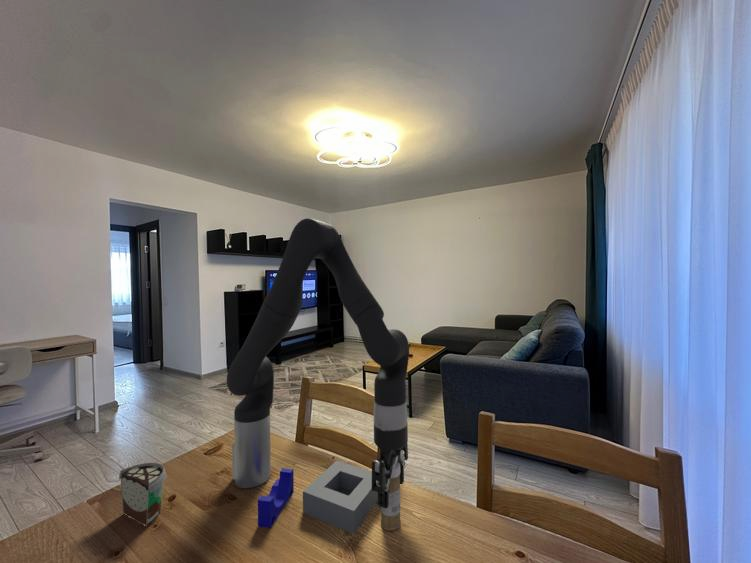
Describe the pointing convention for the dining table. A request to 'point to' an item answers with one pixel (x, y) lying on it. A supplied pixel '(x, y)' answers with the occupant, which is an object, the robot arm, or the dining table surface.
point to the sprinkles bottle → (392, 503)
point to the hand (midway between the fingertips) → (391, 494)
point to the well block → (341, 496)
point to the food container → (142, 491)
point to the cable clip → (275, 498)
